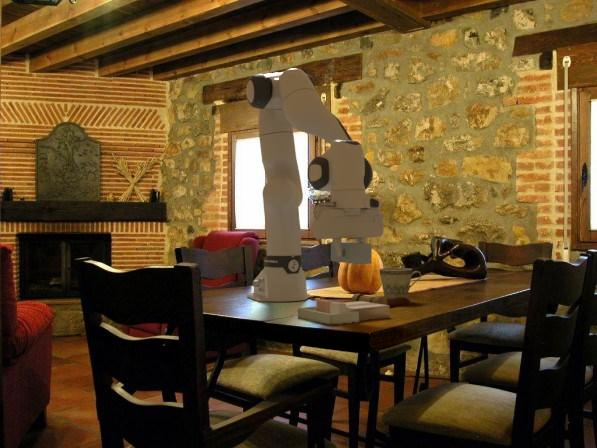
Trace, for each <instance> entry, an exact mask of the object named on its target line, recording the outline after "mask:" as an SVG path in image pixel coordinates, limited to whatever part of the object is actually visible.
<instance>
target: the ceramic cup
mask: <svg viewBox="0 0 597 448" xmlns="http://www.w3.org/2000/svg"><path fill="white" fill-rule="evenodd" d="M416 273H418V274H419V277H418V278H417V279H416V280H414V281H413V282H412V284H411V279H412V277H413V275H415V274H416ZM379 276H380V282H381V285H382V292H383V296H384V297H385V298H407V299H409V292H410V289H411V287H413V286H414V285H415V283H417V282H418V281H420V279H421V278H422V273H421V272H420V271H419V270H414V271H413V268H409V267H408V268H407V267H406V268H405V267H386V268H379Z"/></svg>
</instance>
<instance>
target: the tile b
mask: <svg viewBox="0 0 597 448" xmlns="http://www.w3.org/2000/svg"><path fill="white" fill-rule="evenodd" d="M338 313H346V304H345V303H344V302H337V301H334V302H333V301H332V303H330V314H338Z"/></svg>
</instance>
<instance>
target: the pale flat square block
mask: <svg viewBox="0 0 597 448" xmlns="http://www.w3.org/2000/svg"><path fill="white" fill-rule="evenodd" d="M343 303H345V304H346V313H348V312H359V322H362V321H369V319H371V320H377V319H378V320H379V319H386V318H390V314H391V313H390V312H391V311H390V309H391V307H390V306H389V305H383V304H376V303H370V302H364V301H355V302H351V301H348V302H347V301H346V302H345V301H344V302H343Z"/></svg>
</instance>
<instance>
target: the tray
mask: <svg viewBox="0 0 597 448" xmlns="http://www.w3.org/2000/svg"><path fill="white" fill-rule="evenodd" d="M297 318H298V319H301V320H306V321H310V322H314V323H318V322H319V324H322V323H325V324H324V325H327V324H330V325H329V326H332V325H331V324H338V325H343V323H346V324H353V323H352V322H355V323H359V322H360V321H359V312H348V313H338V314H327V313H322V312H317V305H315V306H308V307H307V306H305V307H304V306H303V307H298V308H297Z"/></svg>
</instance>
